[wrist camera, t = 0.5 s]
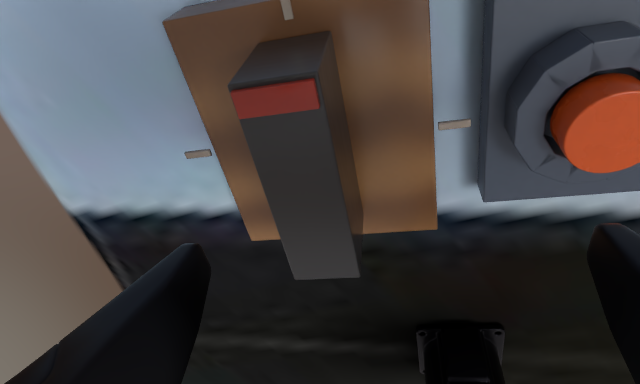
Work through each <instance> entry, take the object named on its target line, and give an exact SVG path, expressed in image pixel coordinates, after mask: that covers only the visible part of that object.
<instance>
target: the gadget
mask: <svg viewBox="0 0 640 384" xmlns="http://www.w3.org/2000/svg"><path fill="white" fill-rule="evenodd" d="M227 87H228V90H229V93H230V96H231V98H232V101H233V104H234V107H235V110H236V113H237V116H238V118H239V121H240V124H241V127H242V130H243V133H244V136H245V138H246V141H247V144H248V147H249V150H250V153H251V156H252V158H253V161H254V164H255V167H256V170H257V173H258V176H259V178H260V181H261V184H262V187H263V190H264V193H265V196H266V198H267V201H268V204H269V207H270V210H271V213H272V216H273V218H274V221H275V224H276V227H277V230H278V233H279V236H280V238H281V241H282V244H283V247H284V250H285V253H286V256H287V258H288V261H289V264H290V267H291V270H292V273H293V275H294V278H295V280H305V279H330V278H355V277H360V274H361V254H362V235H363V216H364V214H363V209H362V203H361V197H360V192H359V186H358V180H357V175H356V169H355V163H354V158H353V152H352V146H351V141H350V135H349V129H348V124H347V118H346V112H345V107H344V101H343V95H342V90H341V84H340V78H339V73H338V67H337V61H336V56H335V50H334V44H333V39H332V33H331V31H325V32H319V33H314V34H308V35H302V36H296V37H291V38H285V39H279V40H273V41H267V42H262V43H258V44H257V46H256V47H255V48H254V50H253V51H252V52H251V54H250V55H249V56H248V58H247V59H246V61H245V62H244V63H243V65H242V66H241V67H240V69H239V70H238V71H237V73H236V74H235V75H234V77H233V78H232V79H231V81H230V82H229V84H228V86H227Z"/></svg>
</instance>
